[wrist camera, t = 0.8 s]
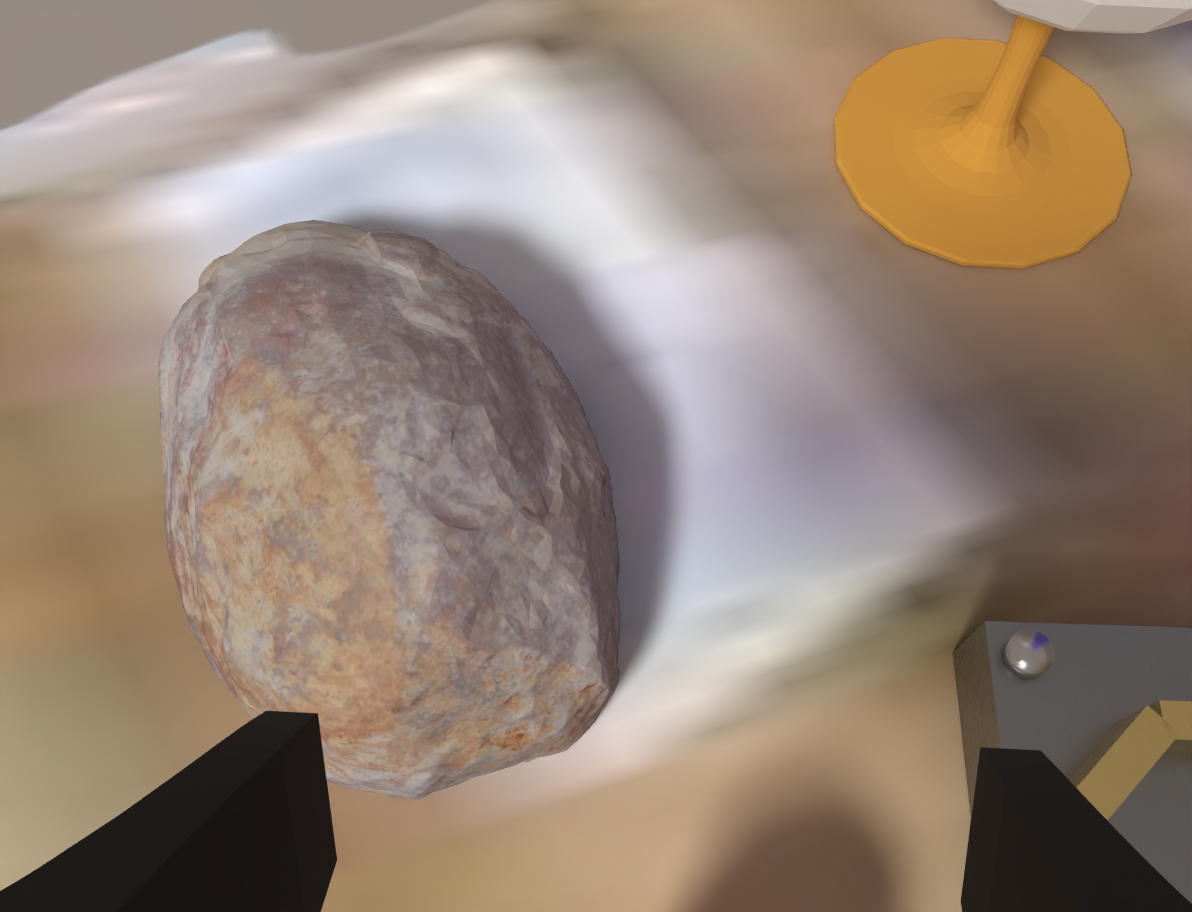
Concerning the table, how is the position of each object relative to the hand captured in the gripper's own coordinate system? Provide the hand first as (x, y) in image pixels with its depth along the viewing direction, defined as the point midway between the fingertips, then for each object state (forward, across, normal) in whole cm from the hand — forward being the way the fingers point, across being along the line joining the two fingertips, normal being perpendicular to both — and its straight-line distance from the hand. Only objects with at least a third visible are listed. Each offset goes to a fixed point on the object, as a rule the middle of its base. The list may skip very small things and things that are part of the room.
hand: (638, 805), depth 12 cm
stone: (+17, +8, +4) cm, 19 cm away
